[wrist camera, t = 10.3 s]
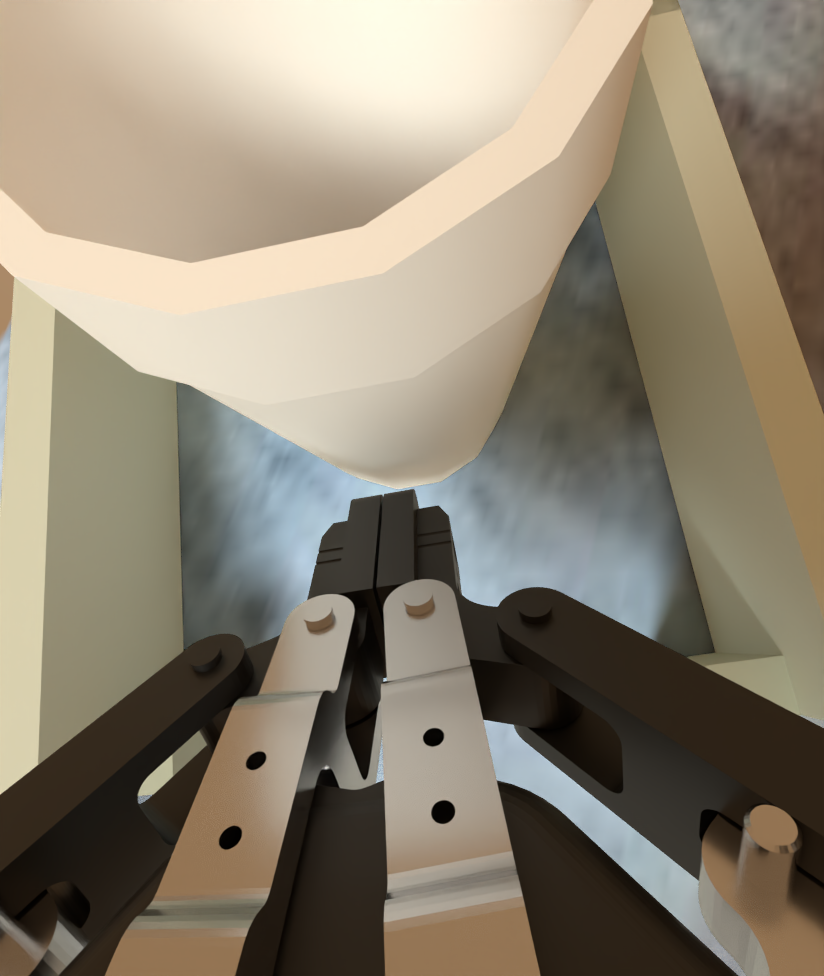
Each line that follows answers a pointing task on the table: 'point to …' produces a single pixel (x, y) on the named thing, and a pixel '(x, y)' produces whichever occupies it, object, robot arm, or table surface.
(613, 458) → the table surface
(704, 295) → the walled box
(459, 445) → the foam cup
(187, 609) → the table surface
